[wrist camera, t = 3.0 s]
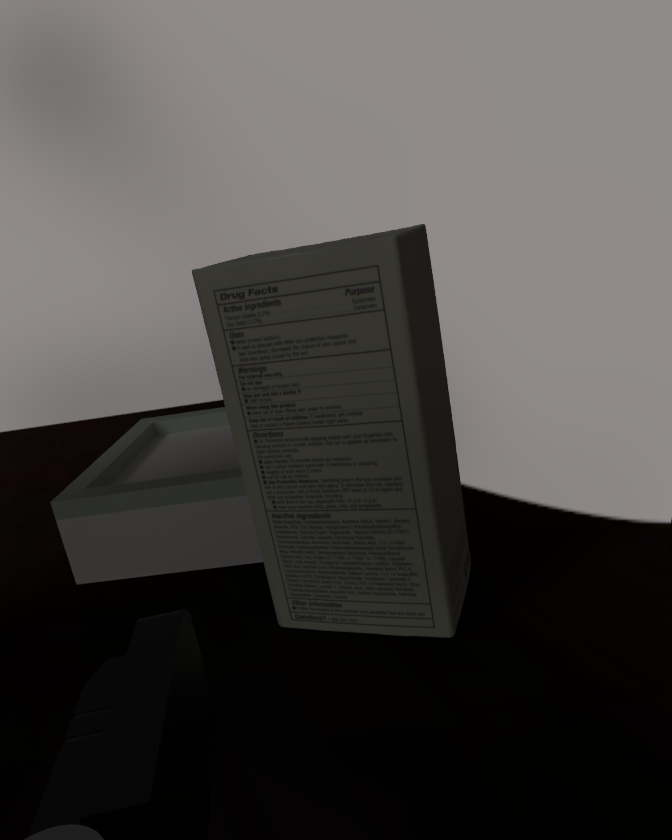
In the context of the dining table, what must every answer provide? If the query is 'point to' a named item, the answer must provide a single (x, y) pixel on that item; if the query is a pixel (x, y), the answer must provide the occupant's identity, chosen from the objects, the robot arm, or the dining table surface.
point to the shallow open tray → (160, 503)
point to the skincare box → (344, 431)
